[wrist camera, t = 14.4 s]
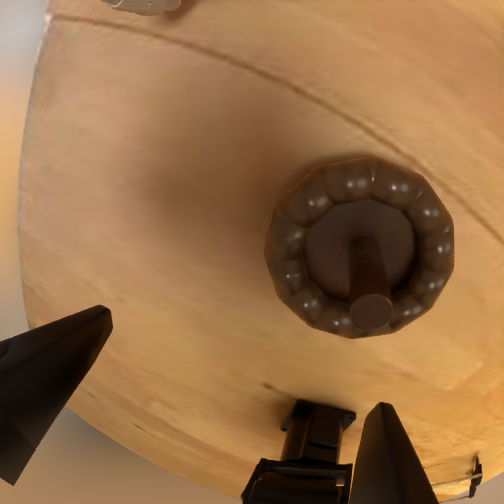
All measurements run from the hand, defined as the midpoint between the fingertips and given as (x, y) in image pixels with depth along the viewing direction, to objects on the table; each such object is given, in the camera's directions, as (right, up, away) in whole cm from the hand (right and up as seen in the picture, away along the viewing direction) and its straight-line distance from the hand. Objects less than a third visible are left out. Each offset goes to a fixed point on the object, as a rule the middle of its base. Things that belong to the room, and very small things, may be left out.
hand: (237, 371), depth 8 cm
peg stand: (+7, +4, +10) cm, 13 cm away
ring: (+7, +3, +8) cm, 11 cm away
